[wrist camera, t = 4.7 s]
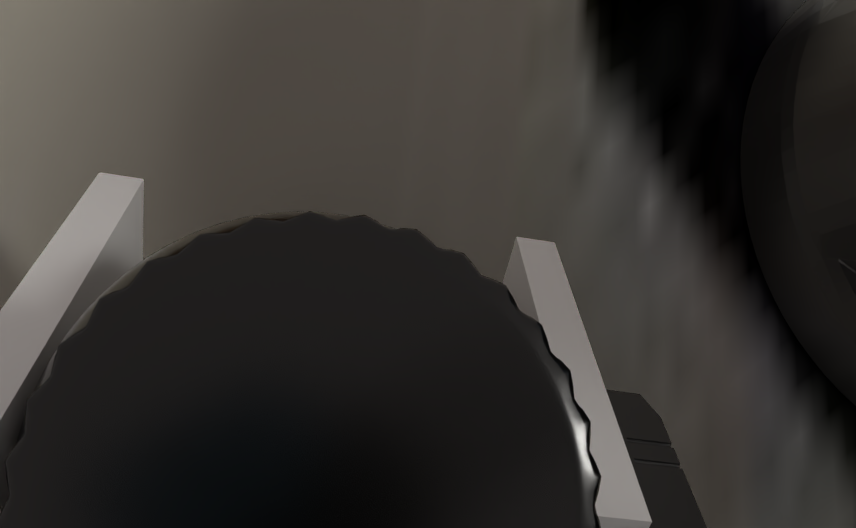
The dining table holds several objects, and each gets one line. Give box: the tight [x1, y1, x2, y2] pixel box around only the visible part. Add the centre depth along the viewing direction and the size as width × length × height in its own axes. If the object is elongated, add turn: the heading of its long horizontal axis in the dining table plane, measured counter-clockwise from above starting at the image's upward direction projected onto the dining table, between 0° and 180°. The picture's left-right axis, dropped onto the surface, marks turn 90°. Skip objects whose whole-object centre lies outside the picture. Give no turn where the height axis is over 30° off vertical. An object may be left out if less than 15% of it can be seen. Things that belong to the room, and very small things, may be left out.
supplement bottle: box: [0, 211, 602, 528], centre depth 12 cm, size 7×7×12 cm
